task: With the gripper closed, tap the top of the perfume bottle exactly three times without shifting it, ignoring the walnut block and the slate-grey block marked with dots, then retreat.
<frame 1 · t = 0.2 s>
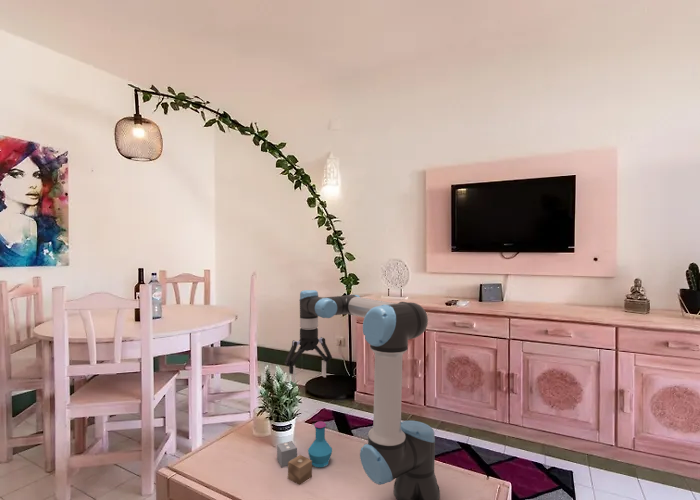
hand: (308, 379, 156), 28 cm above the table, fingers open, 13 cm apart
perfume bottle: (320, 462, 145), on the table
walnut block: (299, 478, 135), on the table
slate block: (286, 461, 145), on the table
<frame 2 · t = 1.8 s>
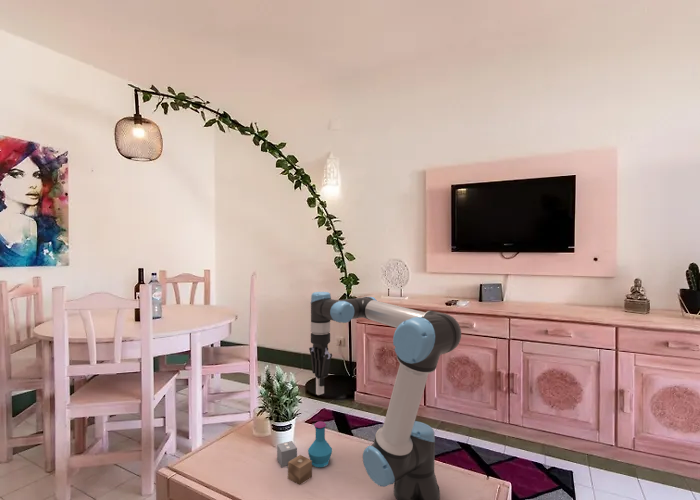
hand: (320, 393, 145), 26 cm above the table, fingers closed
nothing on the table moved.
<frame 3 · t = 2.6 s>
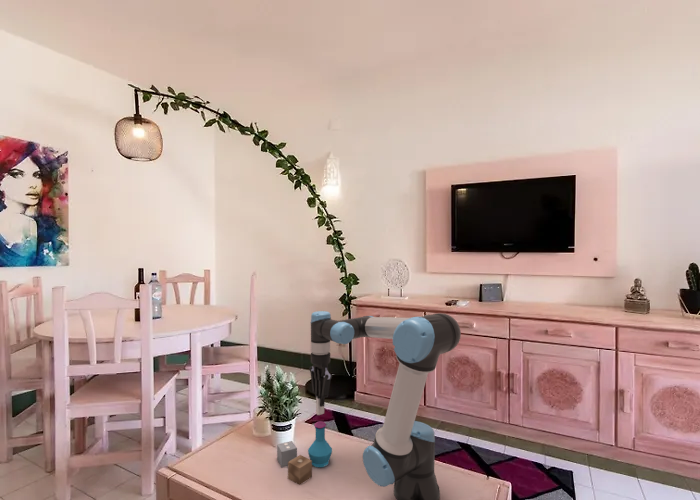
hand: (320, 413, 144), 19 cm above the table, fingers closed
nothing on the table moved.
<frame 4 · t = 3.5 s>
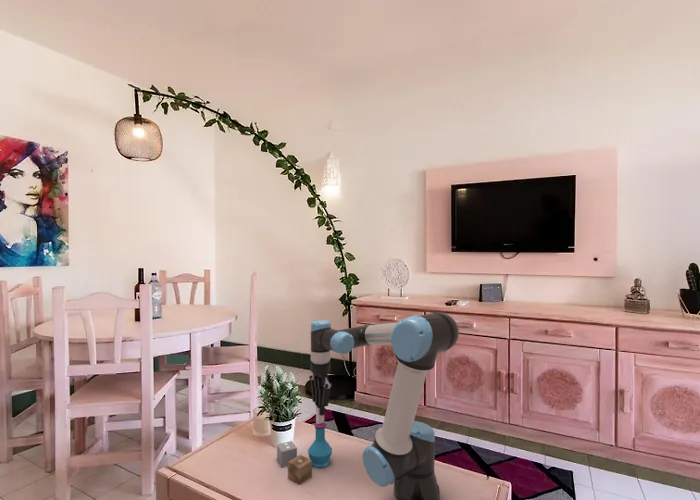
hand: (320, 422, 144), 15 cm above the table, fingers closed
perfume bottle: (320, 462, 145), on the table, touching gripper
everything else where it was.
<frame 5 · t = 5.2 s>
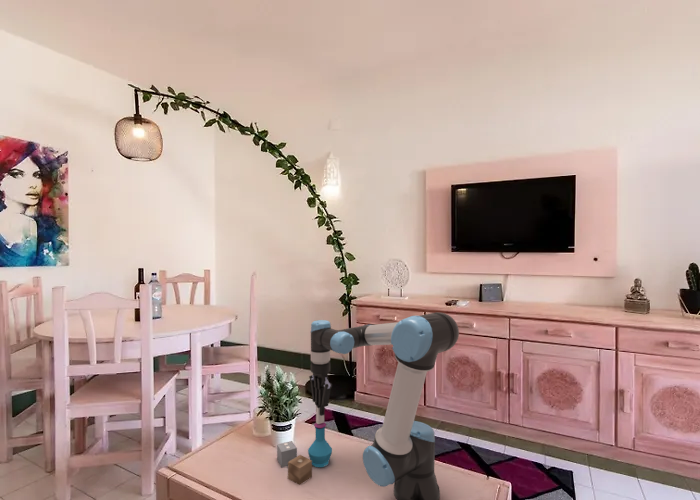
hand: (320, 422, 144), 15 cm above the table, fingers closed
nothing on the table moved.
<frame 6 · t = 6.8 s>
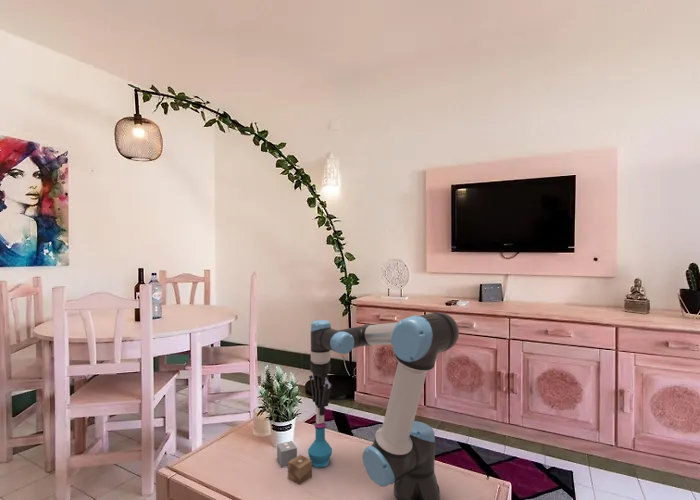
hand: (320, 422, 144), 15 cm above the table, fingers closed
nothing on the table moved.
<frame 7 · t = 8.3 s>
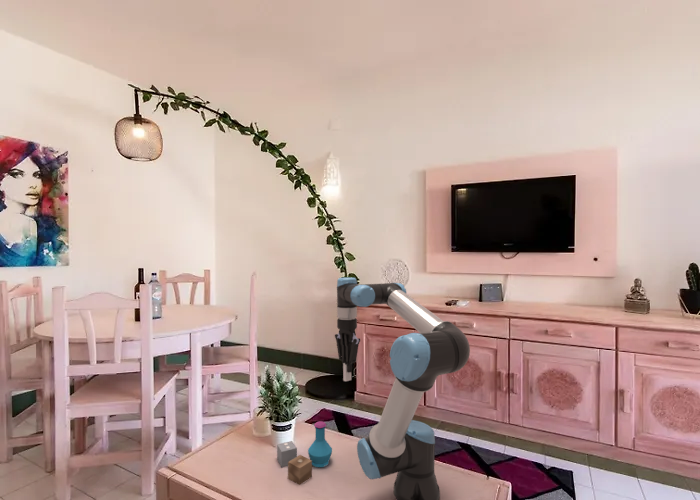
hand: (347, 380, 143), 32 cm above the table, fingers closed
perfume bottle: (320, 462, 145), on the table
everything else where it was.
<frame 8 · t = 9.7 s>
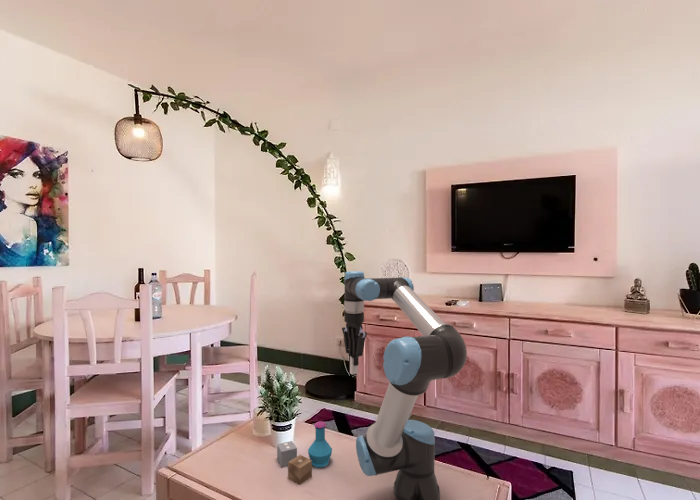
hand: (353, 373, 144), 34 cm above the table, fingers closed
nothing on the table moved.
at the end: perfume bottle moved 0.2 cm from its start; perfume bottle tilted 0°; walnut block moved 0.1 cm from its start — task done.
